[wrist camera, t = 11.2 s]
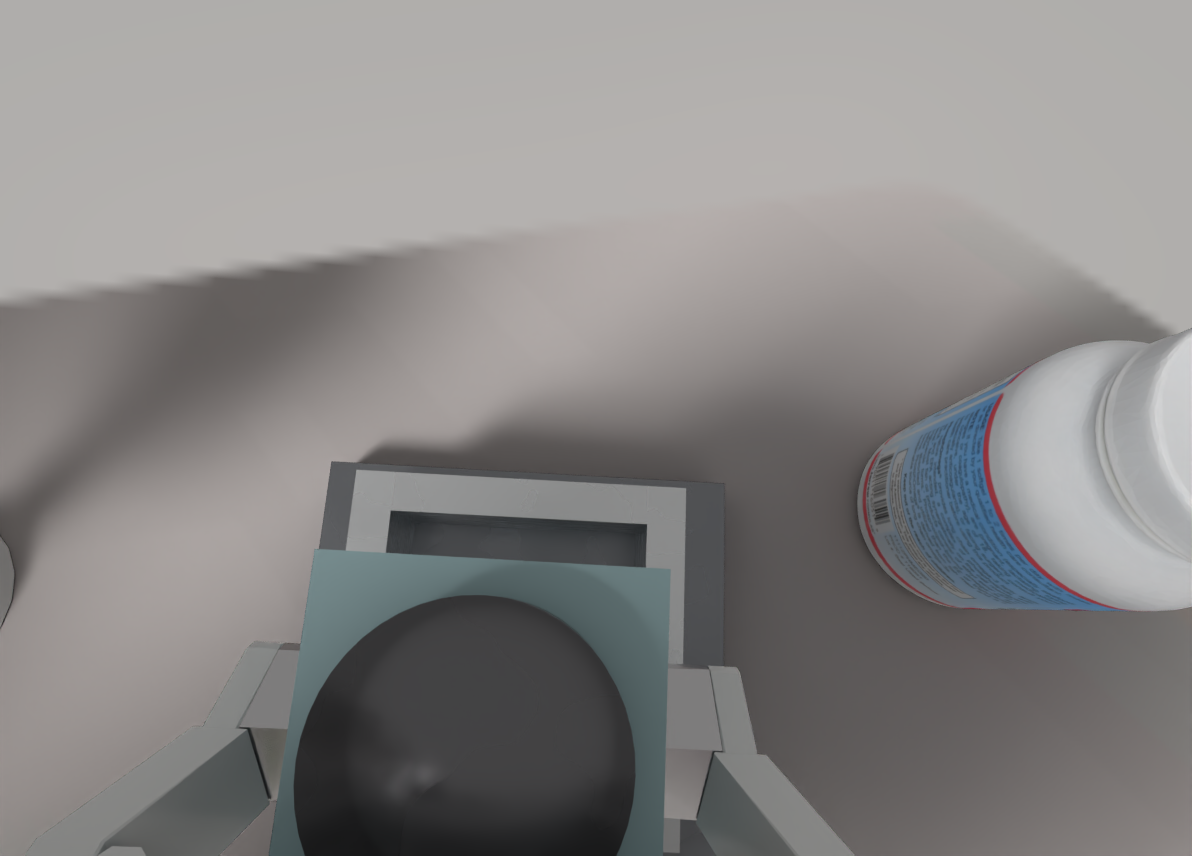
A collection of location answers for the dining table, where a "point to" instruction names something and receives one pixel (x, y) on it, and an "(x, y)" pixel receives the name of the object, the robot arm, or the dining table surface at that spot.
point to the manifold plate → (551, 541)
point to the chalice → (5, 579)
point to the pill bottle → (1046, 487)
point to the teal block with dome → (476, 709)
